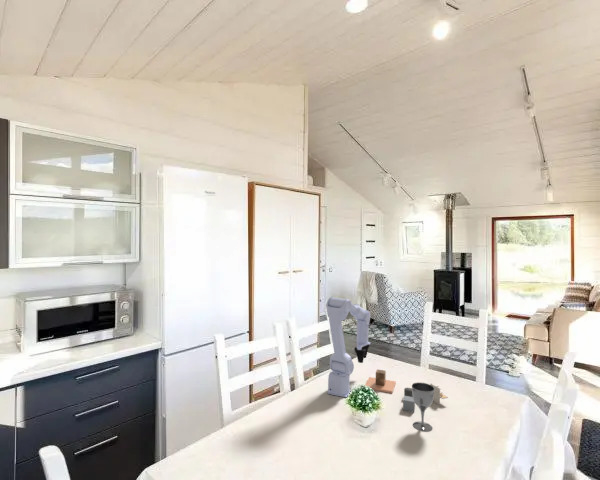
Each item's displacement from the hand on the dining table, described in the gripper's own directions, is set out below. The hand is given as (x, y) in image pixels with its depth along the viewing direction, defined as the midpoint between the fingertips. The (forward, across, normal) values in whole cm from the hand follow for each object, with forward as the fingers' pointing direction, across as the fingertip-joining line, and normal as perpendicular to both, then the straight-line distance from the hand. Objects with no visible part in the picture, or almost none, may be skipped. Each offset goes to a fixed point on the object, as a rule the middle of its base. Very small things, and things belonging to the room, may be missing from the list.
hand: (362, 360), depth 174 cm
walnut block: (+8, -5, -10) cm, 14 cm away
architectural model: (+10, -11, -35) cm, 38 cm away
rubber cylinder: (+10, -13, -24) cm, 29 cm away
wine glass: (+10, -35, -31) cm, 48 cm away
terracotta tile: (+9, -5, -10) cm, 15 cm away
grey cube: (+10, -23, -25) cm, 35 cm away
